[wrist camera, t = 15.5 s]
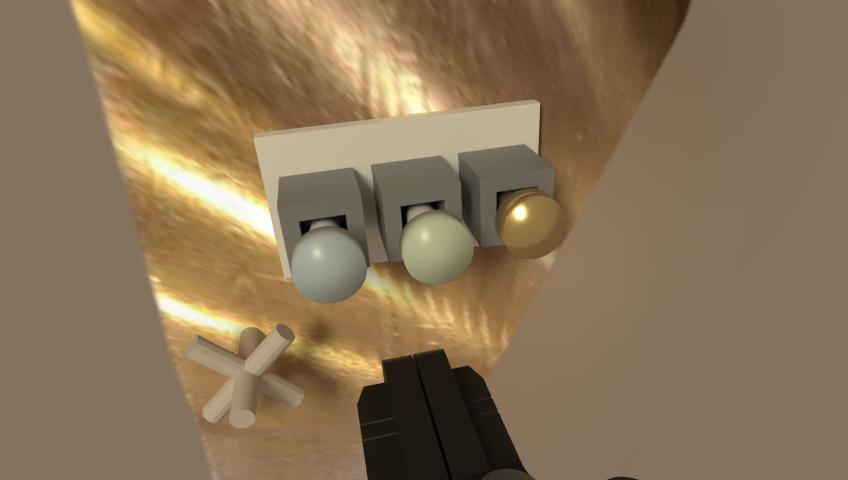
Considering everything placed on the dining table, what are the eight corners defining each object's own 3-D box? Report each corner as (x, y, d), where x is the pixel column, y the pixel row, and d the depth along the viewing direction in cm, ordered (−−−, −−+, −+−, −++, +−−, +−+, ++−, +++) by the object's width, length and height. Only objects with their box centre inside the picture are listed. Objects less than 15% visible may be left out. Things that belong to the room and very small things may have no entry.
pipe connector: (331, 323, 49) (339, 401, 40) (265, 394, 51) (260, 483, 42) (235, 267, 44) (221, 342, 36) (167, 348, 46) (139, 437, 38)
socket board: (254, 133, 40) (247, 164, 34) (534, 99, 43) (573, 122, 37) (284, 271, 45) (283, 318, 39) (529, 231, 49) (563, 269, 43)
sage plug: (381, 179, 40) (401, 227, 33) (441, 170, 41) (473, 216, 34) (387, 233, 42) (407, 290, 35) (444, 224, 43) (474, 278, 36)
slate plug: (286, 192, 39) (285, 245, 32) (349, 183, 40) (362, 233, 32) (297, 247, 41) (298, 308, 34) (357, 238, 42) (370, 296, 35)
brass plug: (467, 161, 42) (503, 203, 35) (523, 154, 43) (569, 193, 36) (469, 214, 44) (503, 264, 37) (521, 206, 45) (565, 253, 38)
